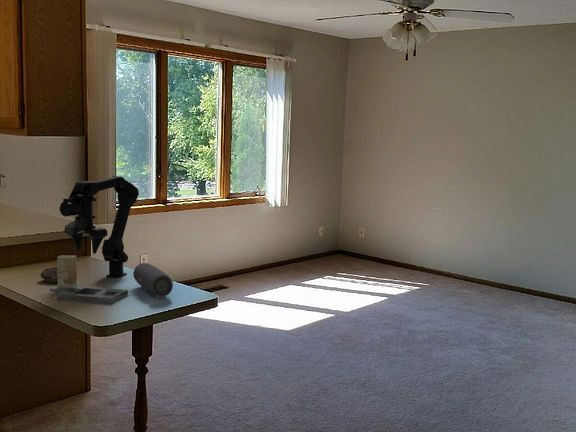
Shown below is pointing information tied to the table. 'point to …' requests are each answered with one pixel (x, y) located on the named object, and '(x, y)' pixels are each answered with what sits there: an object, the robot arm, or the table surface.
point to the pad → (61, 288)
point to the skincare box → (66, 271)
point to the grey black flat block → (98, 294)
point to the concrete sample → (50, 275)
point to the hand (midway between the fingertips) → (86, 252)
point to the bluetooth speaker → (153, 280)
